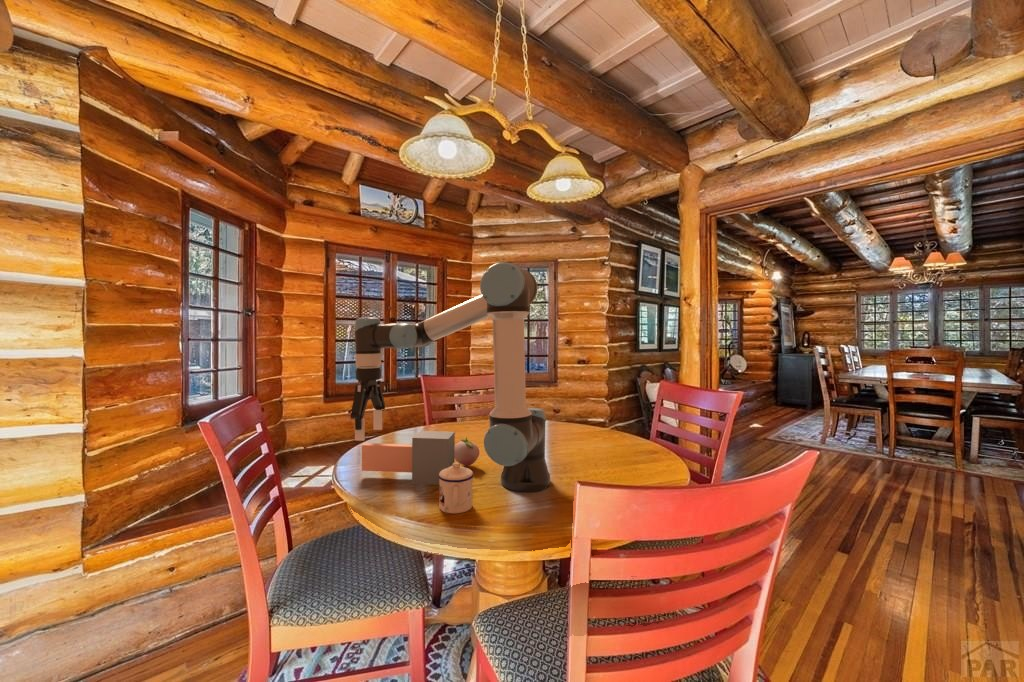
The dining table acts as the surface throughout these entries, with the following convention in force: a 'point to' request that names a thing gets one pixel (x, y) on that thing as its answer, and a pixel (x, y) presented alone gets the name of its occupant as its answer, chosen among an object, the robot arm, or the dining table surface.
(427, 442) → the gray rectangular block
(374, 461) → the orange rectangular block
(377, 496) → the dining table surface
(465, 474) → the teacup with lid
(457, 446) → the decorative fruit
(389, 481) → the dining table surface
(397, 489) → the dining table surface
